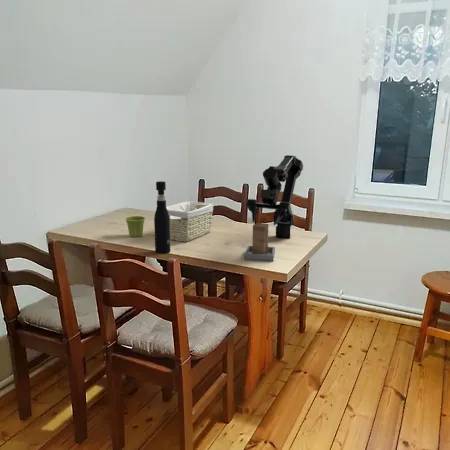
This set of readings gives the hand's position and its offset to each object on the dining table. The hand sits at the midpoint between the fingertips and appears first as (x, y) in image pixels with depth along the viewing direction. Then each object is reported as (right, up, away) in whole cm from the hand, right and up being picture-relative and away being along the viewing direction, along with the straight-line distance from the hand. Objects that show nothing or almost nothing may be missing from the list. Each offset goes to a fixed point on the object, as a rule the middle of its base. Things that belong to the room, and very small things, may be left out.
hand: (263, 223), depth 188 cm
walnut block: (-1, -13, 0) cm, 13 cm away
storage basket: (-34, -6, +31) cm, 46 cm away
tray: (-1, -14, 0) cm, 14 cm away
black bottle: (-43, -12, +6) cm, 45 cm away
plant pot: (-59, -6, +30) cm, 66 cm away
